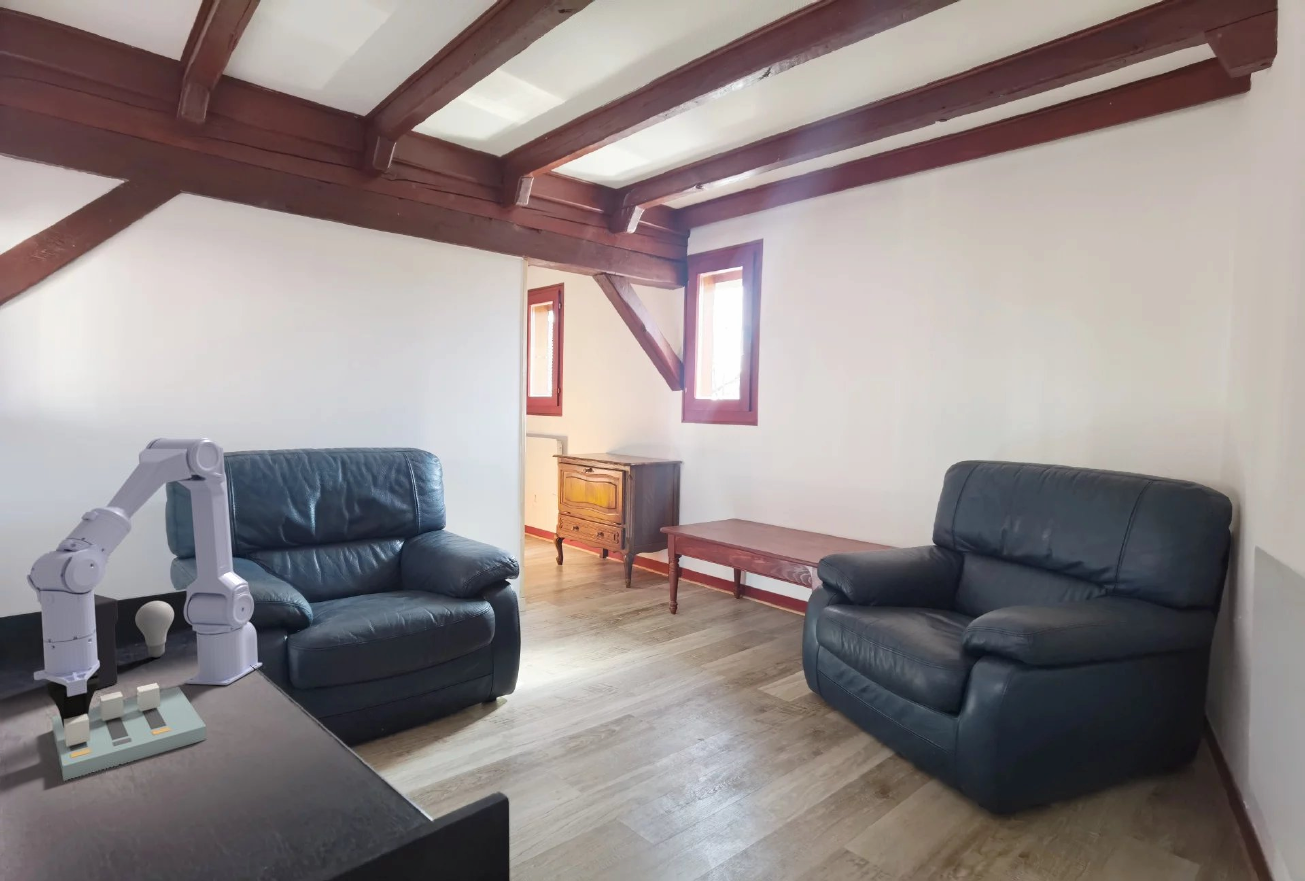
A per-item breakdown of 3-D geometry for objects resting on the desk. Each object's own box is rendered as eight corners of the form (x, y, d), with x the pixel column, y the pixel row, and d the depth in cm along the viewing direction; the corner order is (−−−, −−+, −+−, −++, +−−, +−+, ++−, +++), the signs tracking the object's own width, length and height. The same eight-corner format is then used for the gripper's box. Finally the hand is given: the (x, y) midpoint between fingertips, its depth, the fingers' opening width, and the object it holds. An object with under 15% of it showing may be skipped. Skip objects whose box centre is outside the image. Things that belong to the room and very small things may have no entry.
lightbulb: (146, 665, 131) (143, 607, 131) (131, 659, 135) (128, 603, 134) (181, 655, 136) (179, 599, 136) (167, 649, 140) (164, 595, 139)
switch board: (52, 730, 105) (52, 716, 105) (179, 698, 116) (178, 686, 116) (63, 781, 91) (62, 766, 91) (206, 739, 102) (205, 725, 102)
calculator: (61, 680, 124) (57, 597, 124) (90, 671, 128) (85, 591, 127) (93, 691, 119) (88, 605, 118) (121, 682, 123) (117, 599, 122)
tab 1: (65, 740, 97) (63, 719, 97) (88, 734, 99) (86, 713, 98) (66, 746, 95) (65, 725, 95) (90, 740, 97) (88, 719, 97)
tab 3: (137, 706, 108) (136, 687, 107) (157, 701, 109) (156, 682, 109) (140, 711, 106) (139, 692, 106) (160, 706, 108) (159, 687, 107)
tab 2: (100, 715, 104) (99, 696, 104) (121, 710, 106) (120, 691, 106) (102, 721, 103) (101, 701, 102) (123, 715, 104) (122, 696, 104)
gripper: (29, 630, 100) (35, 722, 101) (34, 656, 90) (40, 758, 91) (92, 619, 105) (96, 707, 106) (103, 642, 95) (109, 740, 95)
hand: (75, 729), depth 99 cm, fingers closed
